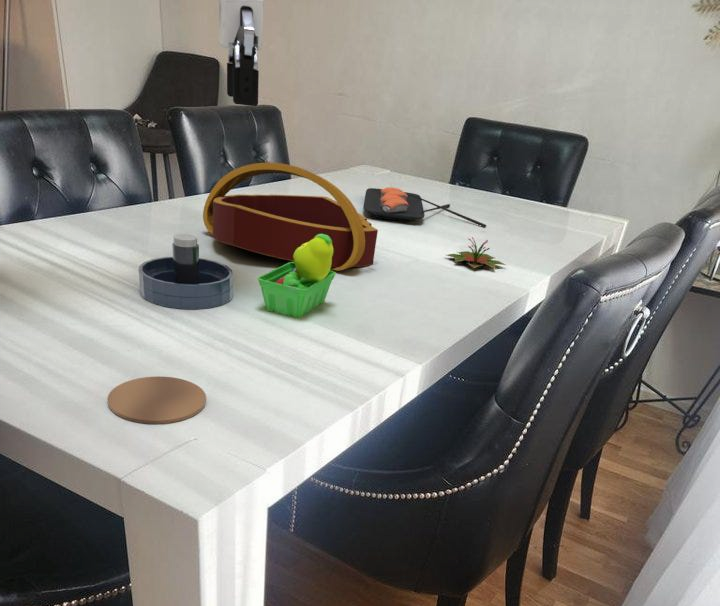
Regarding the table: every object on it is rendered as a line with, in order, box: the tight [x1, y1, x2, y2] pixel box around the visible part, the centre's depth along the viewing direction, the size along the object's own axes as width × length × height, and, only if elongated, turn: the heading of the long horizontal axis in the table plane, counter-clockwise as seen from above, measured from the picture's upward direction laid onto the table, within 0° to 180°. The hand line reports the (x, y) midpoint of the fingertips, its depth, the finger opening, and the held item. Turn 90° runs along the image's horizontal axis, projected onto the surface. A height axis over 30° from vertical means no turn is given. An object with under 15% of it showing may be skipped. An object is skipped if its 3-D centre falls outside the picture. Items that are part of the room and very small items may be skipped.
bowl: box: [138, 256, 234, 310], centre depth 94 cm, size 13×13×4 cm
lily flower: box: [446, 236, 507, 270], centre depth 127 cm, size 12×12×5 cm
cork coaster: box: [107, 375, 207, 425], centre depth 69 cm, size 10×10×1 cm
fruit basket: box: [257, 234, 337, 319], centre depth 93 cm, size 11×9×11 cm
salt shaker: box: [171, 233, 200, 284], centre depth 92 cm, size 4×4×8 cm
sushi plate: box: [363, 186, 487, 228], centre depth 160 cm, size 29×30×4 cm
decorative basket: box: [202, 162, 379, 272], centre depth 116 cm, size 34×29×15 cm
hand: (241, 100), depth 89 cm, fingers open, 9 cm apart
